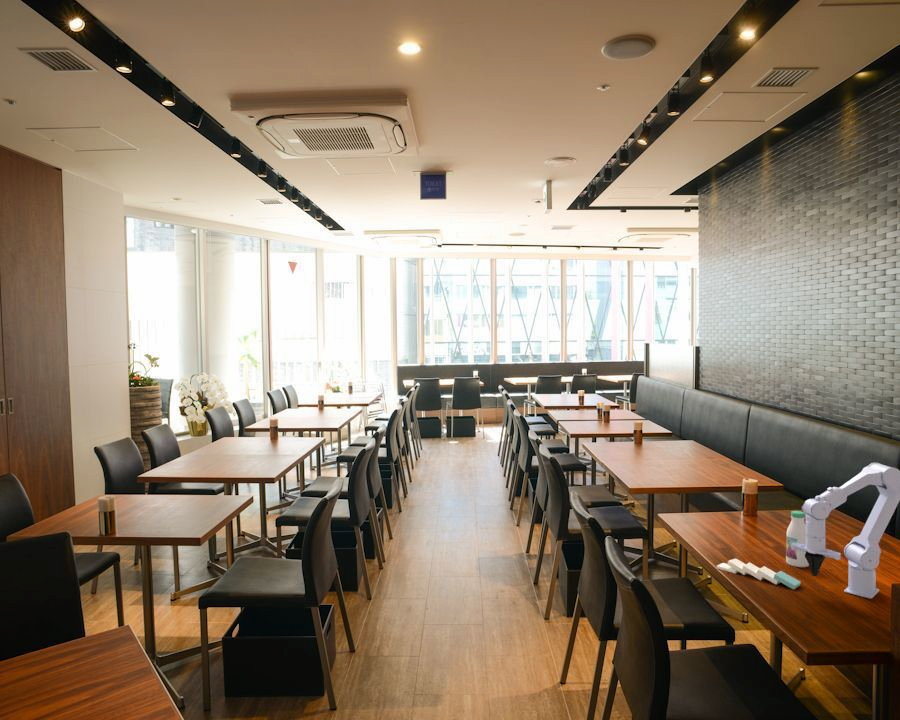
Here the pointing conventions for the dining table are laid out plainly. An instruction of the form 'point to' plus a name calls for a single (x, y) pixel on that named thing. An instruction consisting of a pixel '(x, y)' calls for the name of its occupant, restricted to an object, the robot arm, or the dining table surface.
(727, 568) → the domino
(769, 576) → the domino
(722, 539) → the dining table surface
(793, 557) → the milk bottle
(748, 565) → the domino
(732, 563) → the domino
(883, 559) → the dining table surface
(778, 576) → the domino teal
